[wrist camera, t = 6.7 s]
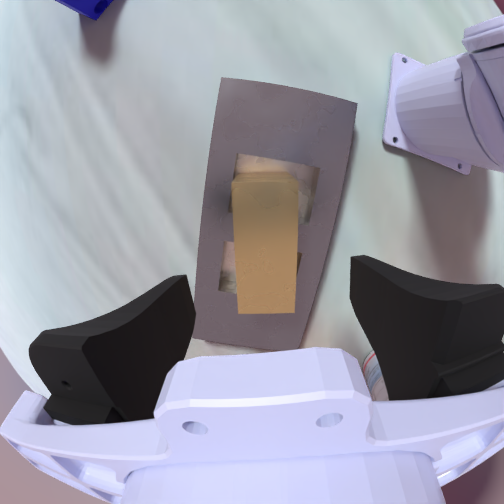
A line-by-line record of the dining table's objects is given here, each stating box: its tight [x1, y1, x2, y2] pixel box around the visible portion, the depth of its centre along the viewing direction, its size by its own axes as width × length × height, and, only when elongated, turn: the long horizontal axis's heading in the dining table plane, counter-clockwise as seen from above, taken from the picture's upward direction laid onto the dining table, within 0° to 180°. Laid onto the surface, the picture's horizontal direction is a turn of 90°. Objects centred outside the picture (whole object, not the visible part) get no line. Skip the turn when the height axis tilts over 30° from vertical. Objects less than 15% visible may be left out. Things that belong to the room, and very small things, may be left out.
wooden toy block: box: [231, 172, 299, 314], centre depth 18 cm, size 4×8×6 cm, turn 2°
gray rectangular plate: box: [192, 77, 358, 351], centre depth 20 cm, size 9×20×2 cm, turn 171°
